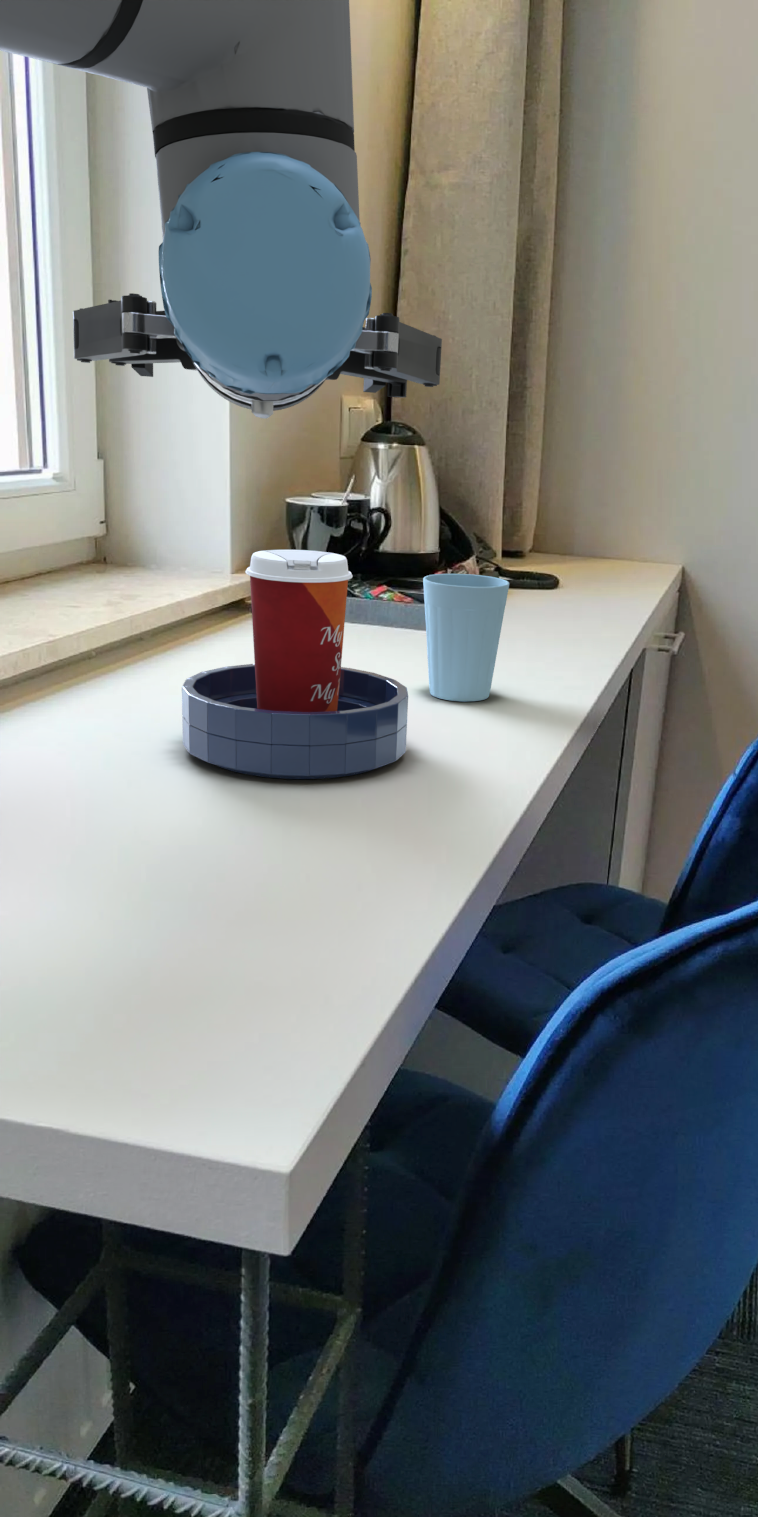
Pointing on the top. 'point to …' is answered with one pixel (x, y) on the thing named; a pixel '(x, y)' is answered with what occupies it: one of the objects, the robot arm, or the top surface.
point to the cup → (463, 633)
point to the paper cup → (298, 628)
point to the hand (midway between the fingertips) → (259, 361)
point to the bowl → (294, 726)
